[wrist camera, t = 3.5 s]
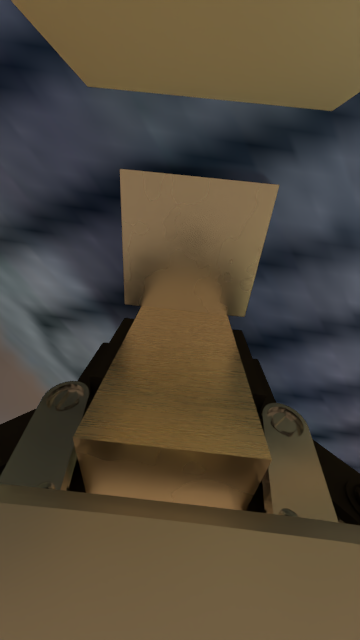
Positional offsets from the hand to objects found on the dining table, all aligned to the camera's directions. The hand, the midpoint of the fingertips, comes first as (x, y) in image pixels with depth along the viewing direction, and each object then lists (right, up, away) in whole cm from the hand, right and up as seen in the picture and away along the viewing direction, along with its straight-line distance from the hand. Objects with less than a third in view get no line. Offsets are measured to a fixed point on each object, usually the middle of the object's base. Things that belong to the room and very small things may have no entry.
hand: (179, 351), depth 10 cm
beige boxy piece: (0, +3, 0) cm, 3 cm away
